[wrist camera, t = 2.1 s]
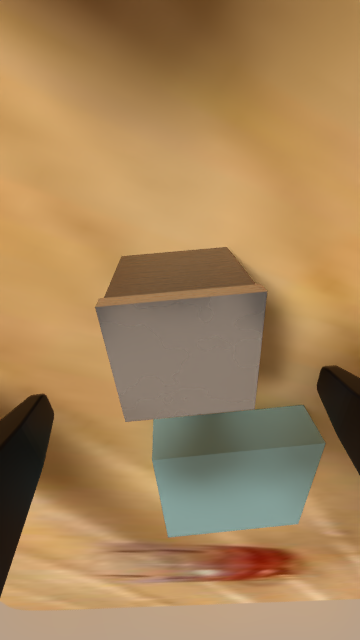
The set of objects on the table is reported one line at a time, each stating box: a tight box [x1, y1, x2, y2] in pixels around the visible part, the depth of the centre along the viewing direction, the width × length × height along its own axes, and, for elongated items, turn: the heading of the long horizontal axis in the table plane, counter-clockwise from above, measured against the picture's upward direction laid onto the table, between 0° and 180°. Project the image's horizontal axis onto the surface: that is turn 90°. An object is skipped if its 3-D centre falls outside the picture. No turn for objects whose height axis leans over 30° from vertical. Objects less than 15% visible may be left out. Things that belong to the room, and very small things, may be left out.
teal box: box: [152, 405, 326, 537], centre depth 21 cm, size 11×11×4 cm
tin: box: [95, 247, 267, 422], centre depth 12 cm, size 5×5×6 cm
